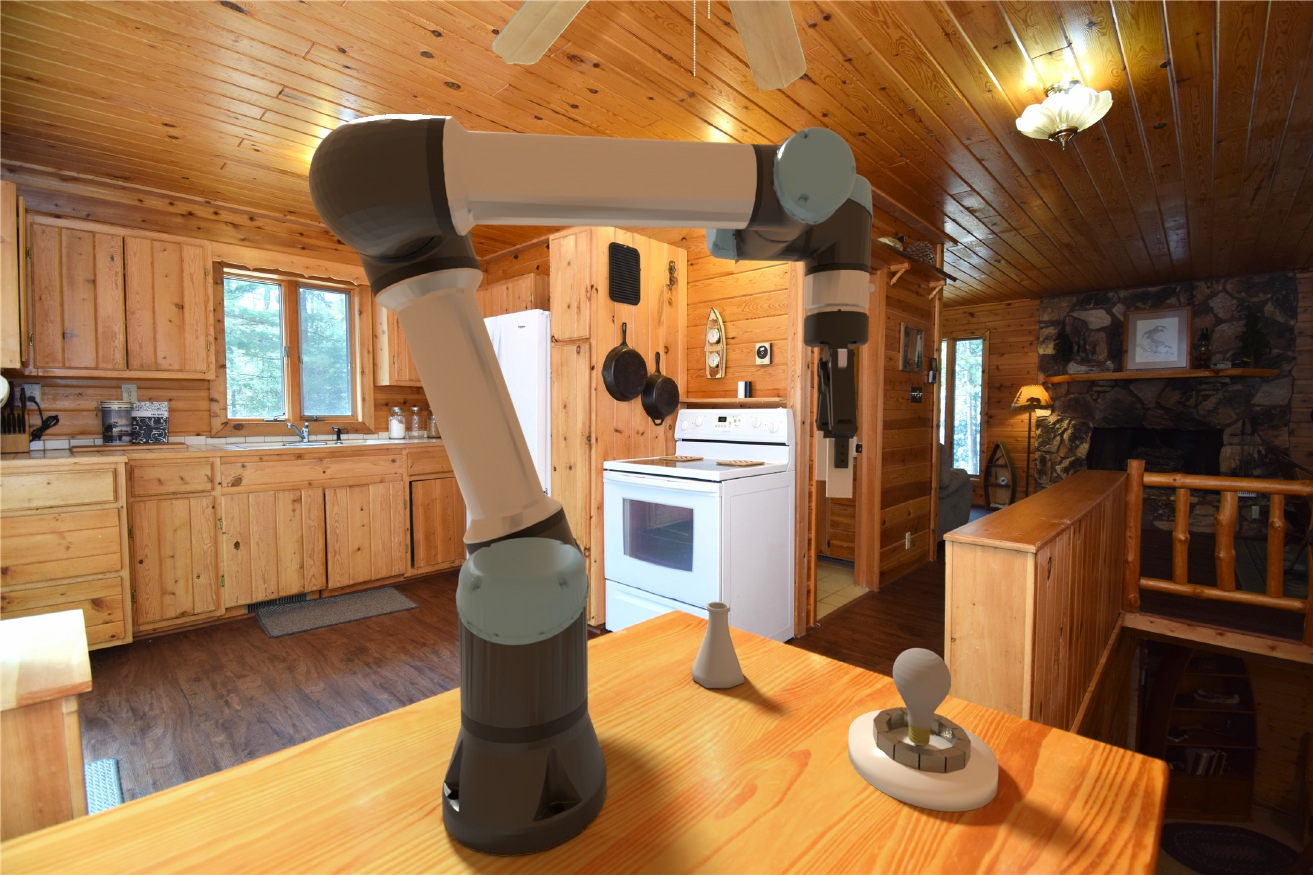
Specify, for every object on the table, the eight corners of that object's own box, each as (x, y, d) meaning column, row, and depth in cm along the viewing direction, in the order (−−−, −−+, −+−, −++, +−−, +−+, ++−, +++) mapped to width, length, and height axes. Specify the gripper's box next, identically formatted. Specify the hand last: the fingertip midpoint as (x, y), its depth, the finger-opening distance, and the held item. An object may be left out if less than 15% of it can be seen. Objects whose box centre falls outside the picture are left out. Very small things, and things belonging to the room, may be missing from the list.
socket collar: (883, 766, 57) (883, 751, 57) (867, 717, 66) (867, 703, 65) (982, 777, 55) (983, 761, 55) (952, 725, 64) (953, 711, 64)
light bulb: (940, 733, 63) (944, 642, 62) (954, 763, 57) (959, 664, 57) (886, 726, 64) (889, 637, 63) (895, 755, 58) (899, 658, 58)
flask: (683, 669, 82) (683, 599, 81) (731, 662, 84) (731, 593, 83) (702, 694, 75) (703, 617, 74) (754, 686, 77) (755, 611, 76)
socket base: (859, 800, 55) (860, 780, 55) (840, 720, 69) (840, 703, 69) (1022, 820, 52) (1023, 799, 52) (969, 732, 66) (969, 715, 66)
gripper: (891, 294, 58) (884, 507, 59) (853, 324, 82) (849, 475, 83) (812, 296, 59) (808, 505, 60) (798, 325, 83) (795, 473, 85)
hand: (832, 488), depth 72 cm, fingers open, 13 cm apart
